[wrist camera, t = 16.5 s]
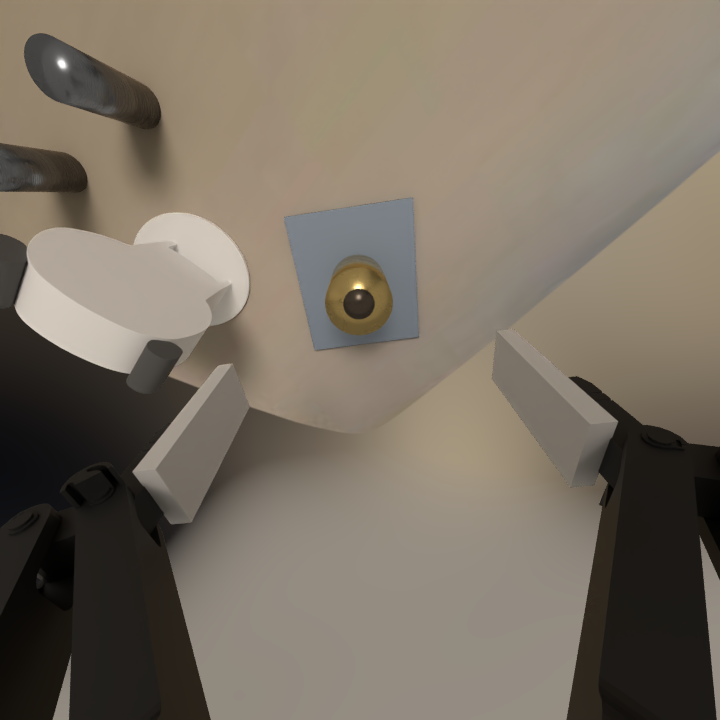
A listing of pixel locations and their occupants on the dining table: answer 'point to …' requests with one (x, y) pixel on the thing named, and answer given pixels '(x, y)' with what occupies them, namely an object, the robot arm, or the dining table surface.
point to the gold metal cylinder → (358, 296)
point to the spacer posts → (78, 89)
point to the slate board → (357, 237)
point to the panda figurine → (127, 292)
